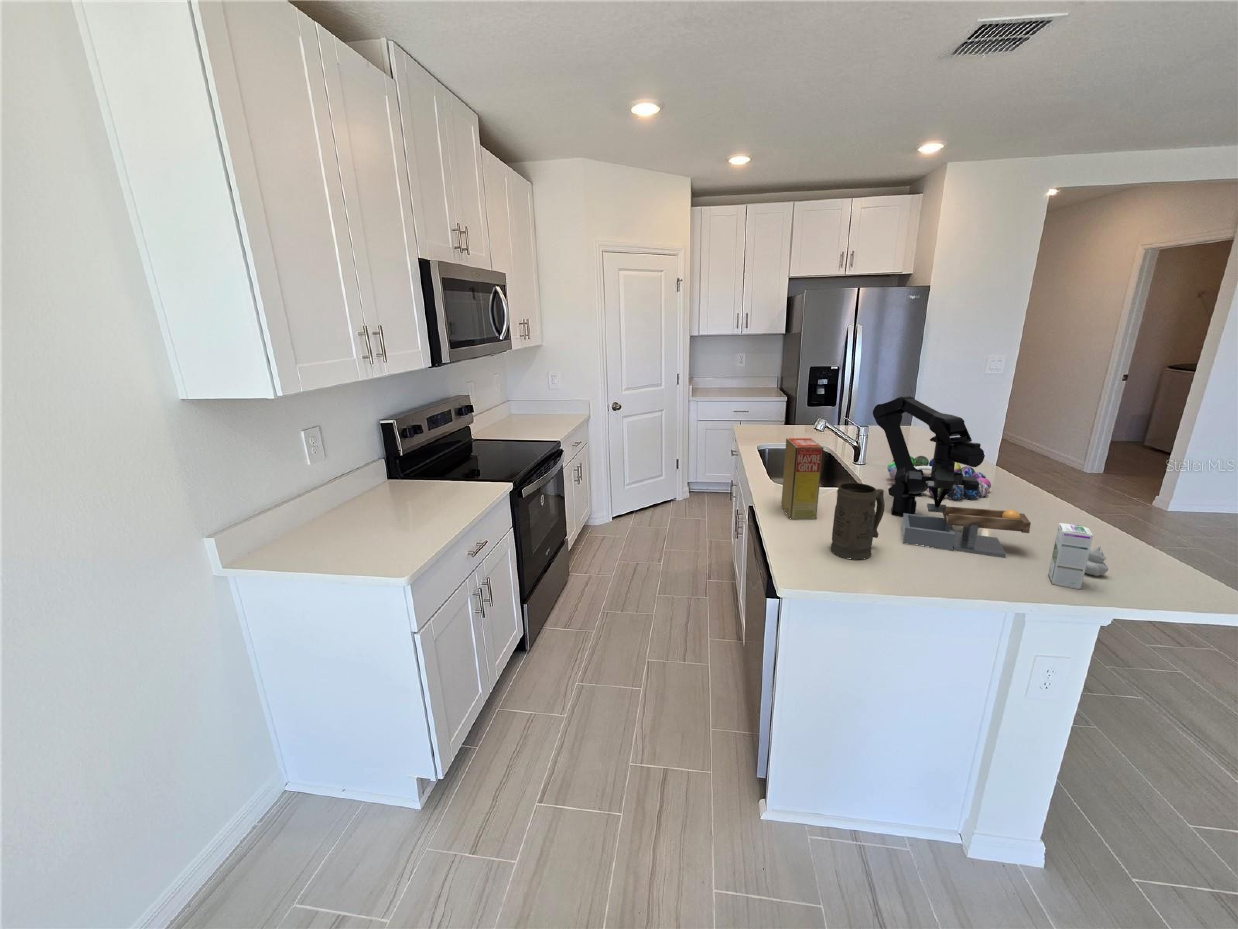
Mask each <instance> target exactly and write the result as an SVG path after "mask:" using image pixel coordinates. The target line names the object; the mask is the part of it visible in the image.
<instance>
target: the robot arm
mask: <svg viewBox="0 0 1238 929" xmlns="http://www.w3.org/2000/svg"><path fill="white" fill-rule="evenodd" d="M906 413H907V414H909V415H911V416H912V417H914V418H916V419H917V420H919V421H921V422H923V423H924V424H926V425H927V426H928V428H929V430H930V431H931V432H932V433H933V434H935V435H934V436H932V437H931V438H930V439H929V441H930V442H932V443H935V444H934V445H935V447H934V452H933V458H932V459H933V464H932V470H930V475H931V476H930V475H925V474H924V470H922V469H919V470H917V469H916V468H915V467H916V466H913V464H912V461H911V458H910V456H911V455H910V451H909V449H908V446H907V443H906V440H905V437H904V434H903V431H902V428H901V424H902V422H903V414H906ZM872 416H873V418H874V420H875V423H876V425H877V426H879V427H880V428H881V429H882V430H883V432H884V433H885V437H886V440H887V443H888V447H889V450H890V453H891V456H892V460H894V462H895V466H896V469H897V471H896V475H895V478H894V479H895V480H894V479H893V480H894V484H893V485H892V486H891V487H889V488H888V489H887V490H888V496H890V497H892V504H891V507H890V509H891V510H890V514H891V515H893V516H900V517H903V513H906V514H914V515H916V511H917V503H918V502H917V500H916V498H918V497H919V498H920V497H921V496H922V494H923V493H924V492H923V491H924V489H925V487H927V488H928V489H929V488H930V489H931V491H932V494H933V496H932V497H933V502H934V503H933V504H935V507H939V506H940V504H942V502H943V501H944V500H945V497H946V496H947V494H948V493H949V492H950V491H955V488H954V487H955V485H962V486H963V487H964V488H965V489H966V490H973V491H978V490H979V482H978V480H977V479H976V478H975V477H969V476H963V473H955V471H954V467H955V462H957V463H959V464H960V465H964V466H966V467H967V466H968V467H971V468H978V467H979V466H981V465H982V463H983V462H984V460H985V457H986V455H985V452H984V449H982V448H981V446H982V445H981V443H979V442H973V441H972V440H973V439H972V437H971V434H970V433H969V430H968V429H967V427H966V424H965V420H964V419H963V418H961V417H959V416H956V415H953V414H949V413H943V412H940V411H938V410H936V409H935V408H932V407H930V406H928V405H926V404H924V403H922V402H921V401H919V400H917V399H915V398H914V397H913V396H911V395H907V396H898V397H896V398H894V399H892V400H890V401H888V402H885V403H884V402H883V403H879V404H876V405H875V406H874V408H873V410H872ZM962 486H961V487H962ZM963 487H962V488H963ZM938 488H941V489H940V493H939V497H938Z"/></svg>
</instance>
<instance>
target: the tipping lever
mask: <svg viewBox="0 0 1238 929" xmlns="http://www.w3.org/2000/svg"><path fill="white" fill-rule="evenodd" d="M926 507H927V508H926V509H927V512H928V513H939V514H940V513H941V514H942V516H943V518H944V519H946V522H947V525H951V526H953V527H962V528H963V527H970V525H971V524H978V529H988V530H1002V531H1010V532H1011V531H1012V532H1020V533H1022V534H1030V530H1031V521H1030V520H1029V519H1028V517H1027V516H1026V514H1025V513H1020V512H1018V511H1016V510H1015V511H1016V512H1018V513H1019V515H1020V519H1009V518H1002V514H1003V513H1004V512H1005V511H1006V510H1003V509H1001V510H1000V509H989V508H987V509H986V508H973V507H963V506H962V507H960V506H959V507H958V506H947V505H946V504H943V503H941V504H940V506H939V507H935V503H929V502H928V503H927V504H926Z"/></svg>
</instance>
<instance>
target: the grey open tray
mask: <svg viewBox="0 0 1238 929" xmlns="http://www.w3.org/2000/svg"><path fill="white" fill-rule="evenodd" d="M901 520H902V522H901V529H900V530H901V537H903V538H902V544H904V543H908V544H907V545H911V544H918V545H924V546H923V547H925V546H929V547H928V548H931V547H934V548H933V549H938V548H943V549H942V550H945V549H948V550H947V551H952V550H953V551H954V549H953V546H954V540H955V532H956V531H955V529H954V526H951V525H947V522H946V519H944V517H939V516H929V515H921V514H906V513H903V516H902V519H901ZM918 545H917V546H918Z"/></svg>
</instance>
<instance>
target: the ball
mask: <svg viewBox="0 0 1238 929" xmlns="http://www.w3.org/2000/svg"><path fill="white" fill-rule="evenodd" d="M1004 511H1005V512H1004V513H1003V514H1002V518H1009V519H1020V515H1019V513H1020V512H1018V511H1017V512H1016V510H1014V509H1007V510H1004Z"/></svg>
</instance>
